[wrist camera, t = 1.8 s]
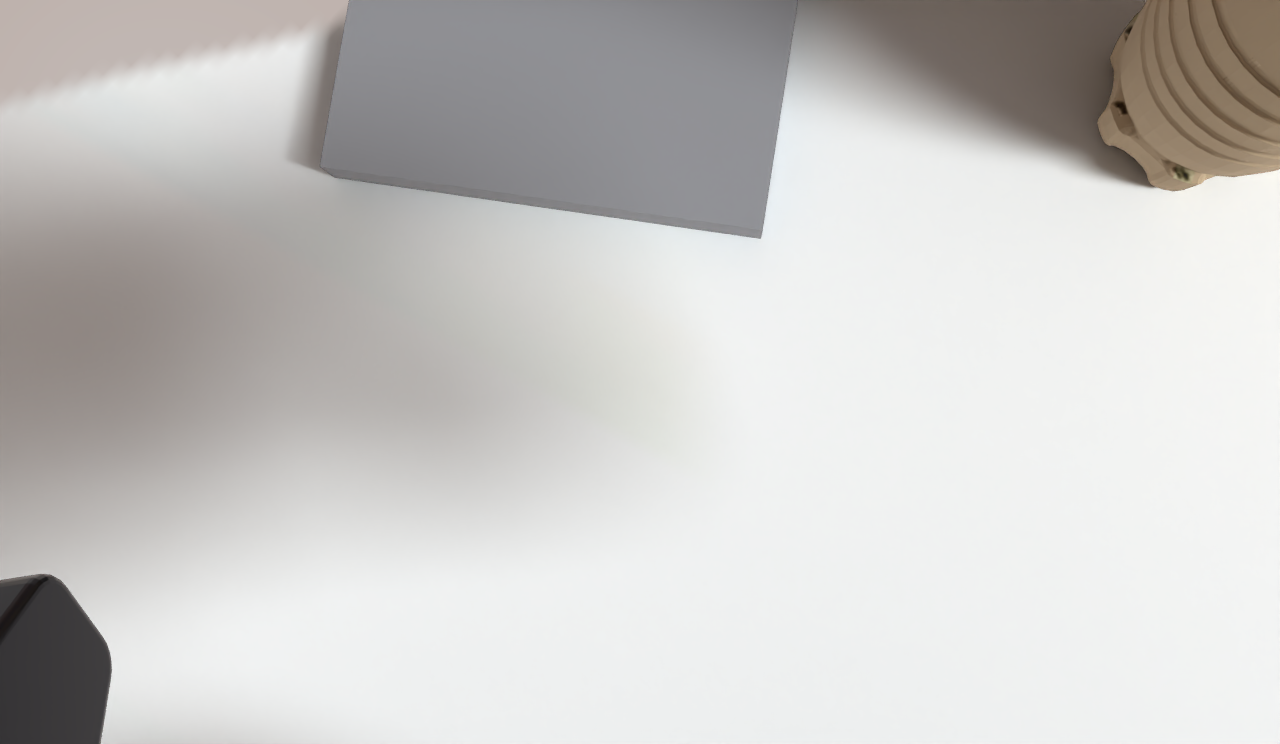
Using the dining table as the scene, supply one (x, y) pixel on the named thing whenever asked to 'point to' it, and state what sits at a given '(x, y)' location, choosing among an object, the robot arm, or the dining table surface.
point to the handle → (1197, 90)
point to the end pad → (568, 104)
